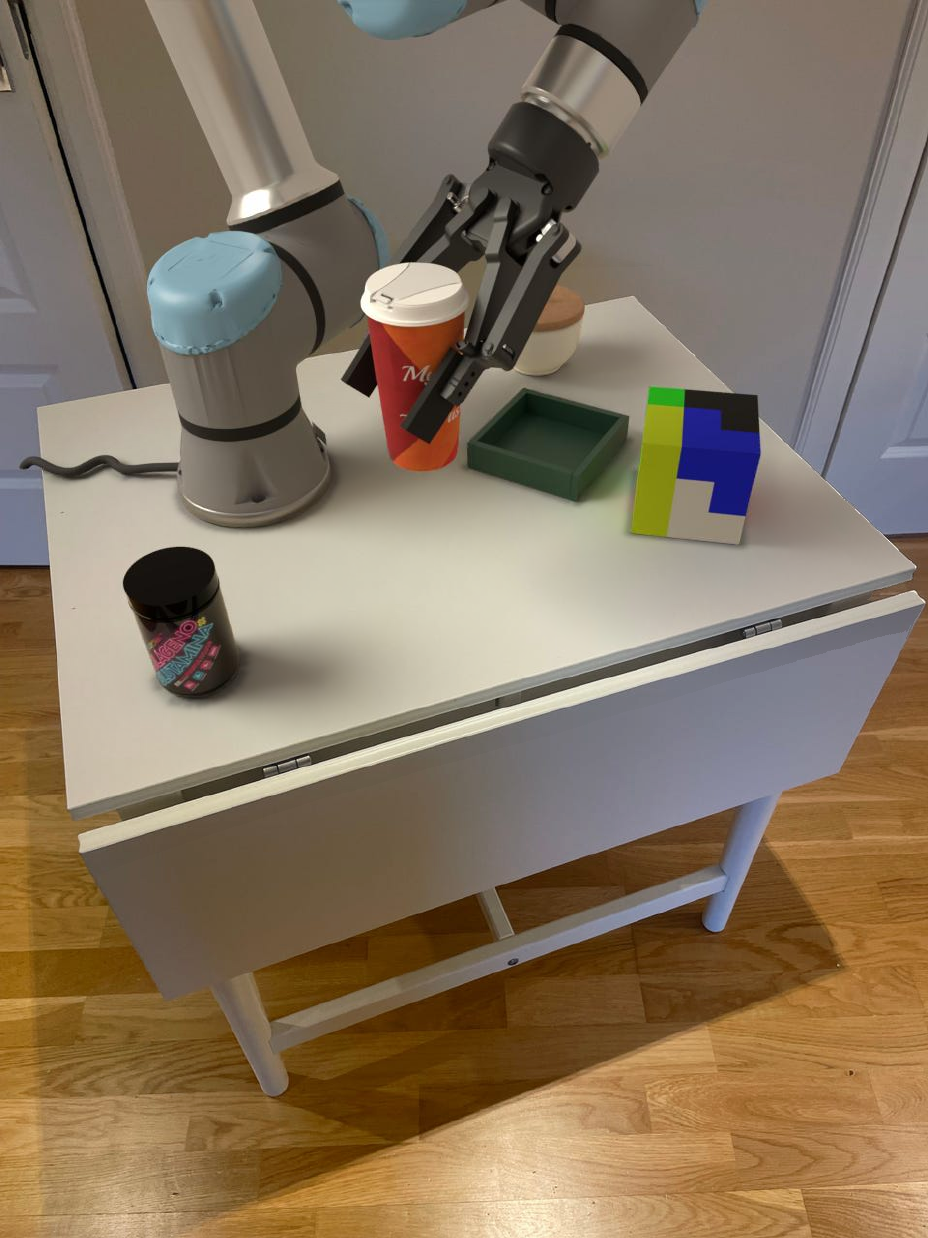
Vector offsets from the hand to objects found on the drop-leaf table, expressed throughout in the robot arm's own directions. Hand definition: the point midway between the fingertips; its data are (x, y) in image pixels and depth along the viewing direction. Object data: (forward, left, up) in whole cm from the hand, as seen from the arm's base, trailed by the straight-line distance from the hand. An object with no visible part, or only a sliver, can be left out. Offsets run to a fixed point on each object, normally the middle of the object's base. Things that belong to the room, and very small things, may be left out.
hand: (384, 410), depth 68 cm
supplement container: (-9, -16, -19) cm, 26 cm away
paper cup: (+1, +3, -5) cm, 6 cm away
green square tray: (+2, +26, -19) cm, 32 cm away
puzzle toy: (+18, +24, -19) cm, 35 cm away
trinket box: (-8, +43, -19) cm, 48 cm away
